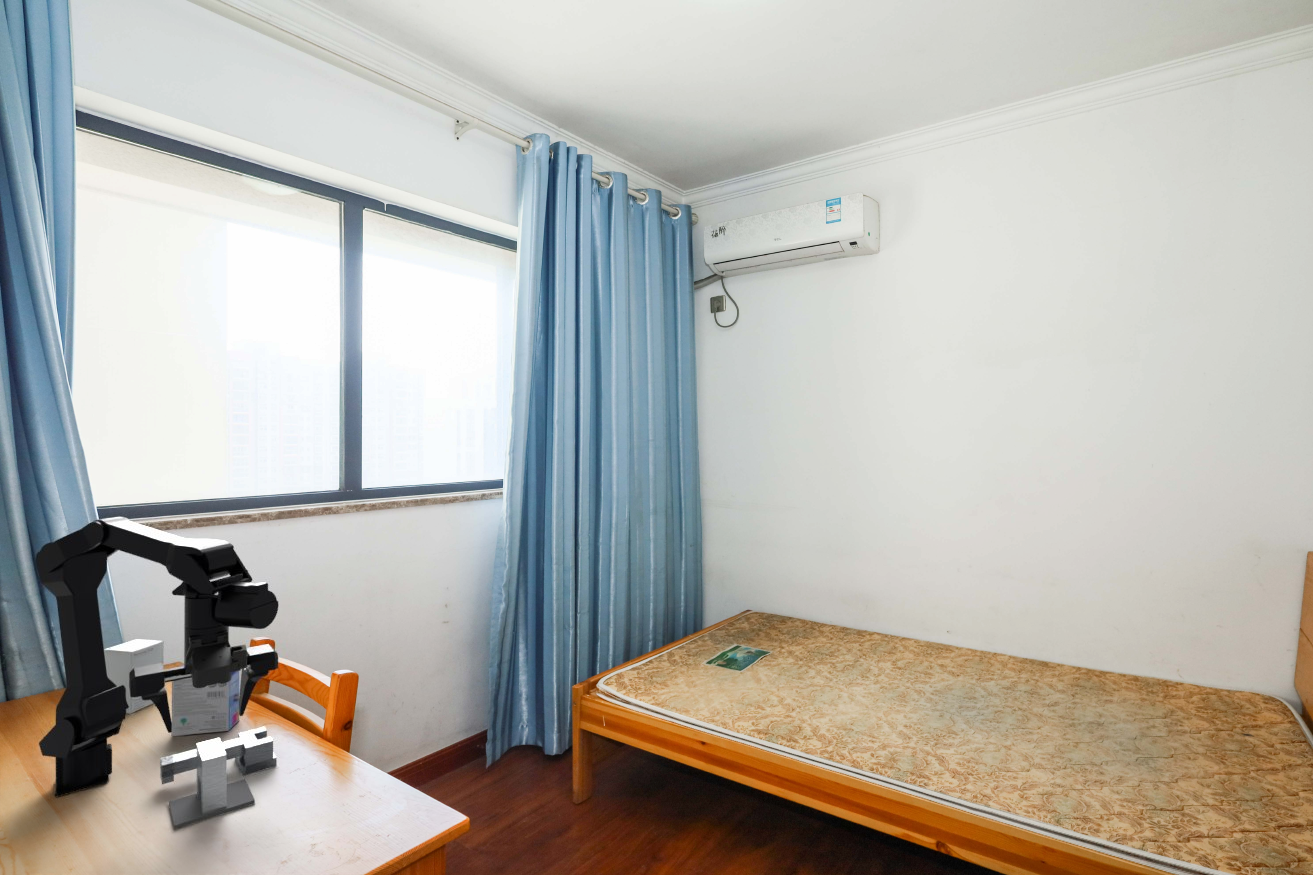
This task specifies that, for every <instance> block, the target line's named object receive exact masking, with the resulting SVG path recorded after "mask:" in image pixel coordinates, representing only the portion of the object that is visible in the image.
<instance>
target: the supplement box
mask: <svg viewBox="0 0 1313 875" xmlns="http://www.w3.org/2000/svg"><path fill="white" fill-rule="evenodd" d="M164 649H165V648H164V640H157V639H156V640H155V639H143V638H142V639H140V638H135V639H132V640H129V641H127V642H123V643H120V644H117V645H114V646H111V647H107V648H104V653H105V661H106V670H107V676H108V678H109V679H110V680H111V681H112V682H113V683H115V684H116V685H117V686H119V685H124V686H125V688H126V701H127V704H128V706H129V708H127V709H126V715H127V714H129V715H130V714H134V712H137V711H139V710H142V709H143V708H146V707H148V706H150V705H153V704H154V703H153V702H152V701H151V700H142V698H141V696H140V697H130V689H129V673H130V672H131V671H132V669H133V668H136V667H141V666H147V665H153V664H158V663H162V665H163V669H164V670H165V668H164V666H165V665H164V664H165V663H164V657H165V656H164V653H165V652H164Z"/></svg>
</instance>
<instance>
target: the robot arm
mask: <svg viewBox="0 0 1313 875" xmlns="http://www.w3.org/2000/svg"><path fill="white" fill-rule="evenodd" d="M118 551H120V552H124V553H125V554H129V555H132V556H136V557H139V558H142V559H145V560H148V561H151V562H154V563H157V564H160V565H162V566H164V567H165V568H166V570H167V573H168V574H169V575H171V576H172V577H174V578H176V579H178V580H179V581H181V583H180V584H179V585H178V586H177V587H176V588H174V589H173V590H172V591H171V594H172V595H173V596H183V597H184V603H183V606H184V611H183V612H184V616H183V617H184V621H183V622H184V624H183V629H184V630H183V632H184V635H183V636H184V638H183V642H184V645H183V647H184V650H183V652H184V653H183V658H184V660H183V662H184V663H183V664H184V666H182V665H181V667H180V666H178V667H177V666H176V667H171V668H167V669H166V668H164V669H163V665H162V663H158V664H153V665H147V666H141V667H136V668H133V669H132V671H131V672H130V673H129V689H130V697H140V696H141V698H142V700H151V701H152V702H153V704H154V706H155V707H156V709H157V710H158V712H159V714H160V717H161V719H162V721H163V724H164V726H165V728H166V731H167V732H168V733H167V734H171V733H172V715H171V711H170V704H169V698H168V697H169V696H168V692H167V688H166V683H170V682H171V683H172V681H176V680H182V679H187V678H192V685H193V687H195V688H204V687H206V686H208V685H213V684H218V683H220V684H224V683H227V682H229V681H230V680H231V679H232V672H235V671H239V672H240V671H241V674H240V676H241V677H240V683H239V717H243V716H244V714H245V712H246V709H247V707H248V704H249V701H250V699H251V695H252V693H253V690H254V689H255V687H256V685H257V684H258V683H259V681H260V679H262V678H264V677H266V676H269V674H270V673H269V672H270V671H274V670H277V669H279V656H278V654H279V653H278V652H277V650H276V649H275V648H274V647H273V646H272V645H271V644H269V643H267V644H260V645H256V646H250V647H247V645H246V644H240V645H236V646H234V645H233V646H231V644H230V641H229V640H230V638H229V637H230V635H229V634H230V631H229V630H230V627H231V628H240V629H241V628H242V629H243V628H244V629H254V630H263V629H266V628H267V627H269V626H271V624H272V623H273V622H274V620H275V619H276V617H277V614H278V612H279V611H278V610H279V600H277V596H276V595H275V593H273V591H271V590H269V583H268V582H261V581H259V582H256V583H255V582H253V578H252V576H251V574H250V573H249V570H248V569H247V568H246V566H245V565H244V563H243V562H242V559H241V558H240V557H239V555H238V554H237V552H236V550H235V547H234V545H233V544H232V543H231V542H229V541H227V540H223V539H215V538H213V539H212V538H188V537H187V538H186V537H183V536H179V535H176V534H173V533H169V532H166V531H163V530H160V529H157V528H154V527H150V526H147V525H144V524H140V523H138V522H134V521H132V520H131V519H129V518H128V517H124V516H114V517H106V518H99V519H96V520H93V521H92V522H89V523H88V524H86V525H84V526H83V527H82V528H80V529H78V530H76V531H74V532H71V533H69V534H67V535H65V536H62V537H61V538H58V539H56V540H55V541H50V542H46V543H45V544H44V545H43V546H42V547H41V548H40V550H39V551H37V552H36V555H35V566H36V569H37V573H38V576H39V580H40V584H42V585H43V586H44V587H45V589H46V590H48V592H50V593H51V594H52V595H53V596H54V597H55V599H56V605H57V613H58V623H59V624H58V625H59V632H60V639H61V641H60V642H61V648H62V657H63V666H64V673H65V682H66V688H65V689H64V692H63V693H62V696H61V697H60V700H59V701H58V703H57V705H56V708H55V725H54V726H53V727H51V729H50V730H49V731H47V732H48V733H46V735H44V737H43V738H41V740H40V741H39V742H38V746H39V749H40V752H41V756H43V757H50V758H51V757H52V758H54V759H55V780H54V782H55V783H54V791H53V792H54V795H53V796H54V797H60V796H64V795H68V794H71V793H75V792H79V791H83V790H86V789H90V788H94V787H98V786H101V785H105V784H107V783H109V782H110V781H109V778H110V777H109V775H112V773H113V748H112V743H108V739H109V738H111V737H113V736H116V735H119V733H120V730H121V728H122V725H123V721H124V720H125V719H126V717H127V716H126V715H127V713H126V709H127V708H129V706H128V704H127V701H126V688H125V686H124V685H119V686H117V685H116V684H115V683H113V682H112V681H111V680H110V679H109V678H108V676H107V670H106V661H105V653H104V649H105V647H104V646H105V645H104V638H103V637H104V636H103V630H102V629H103V628H102V623H101V621H102V619H101V613H100V612H101V610H100V605H99V596H98V590H99V588H100V585H101V583H102V582H103V579H104V578H105V576H106V574H107V572H108V558H109V557H111V556H113V555H115V553H116V552H118ZM225 576H226V577H225Z"/></svg>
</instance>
